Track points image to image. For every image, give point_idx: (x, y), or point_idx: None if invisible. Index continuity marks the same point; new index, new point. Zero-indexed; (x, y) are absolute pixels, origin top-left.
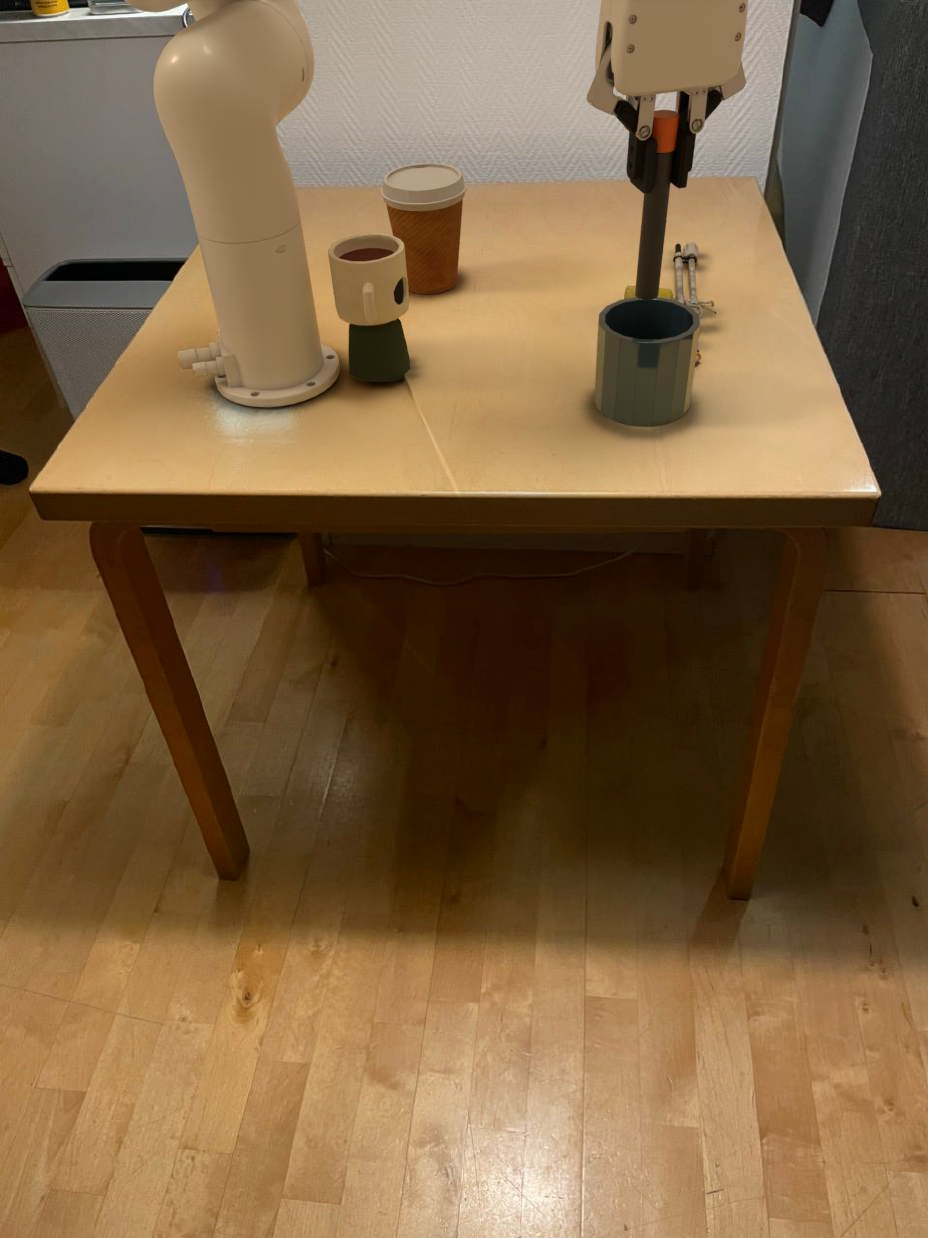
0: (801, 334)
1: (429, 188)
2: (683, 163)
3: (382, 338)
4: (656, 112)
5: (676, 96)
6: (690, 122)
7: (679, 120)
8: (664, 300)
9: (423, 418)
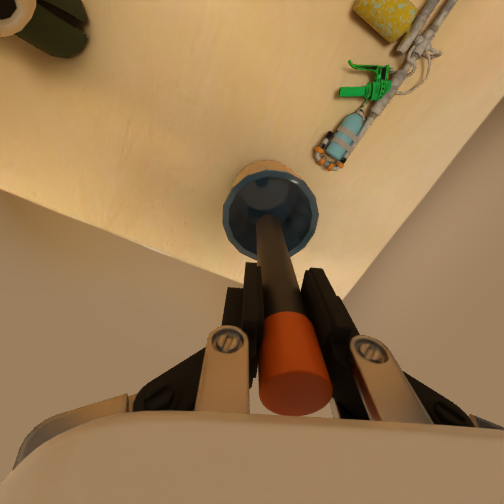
0: (457, 147)
1: None
2: None
3: (21, 33)
4: (284, 382)
5: (370, 393)
6: (332, 410)
7: (334, 376)
8: (304, 193)
9: (99, 133)
